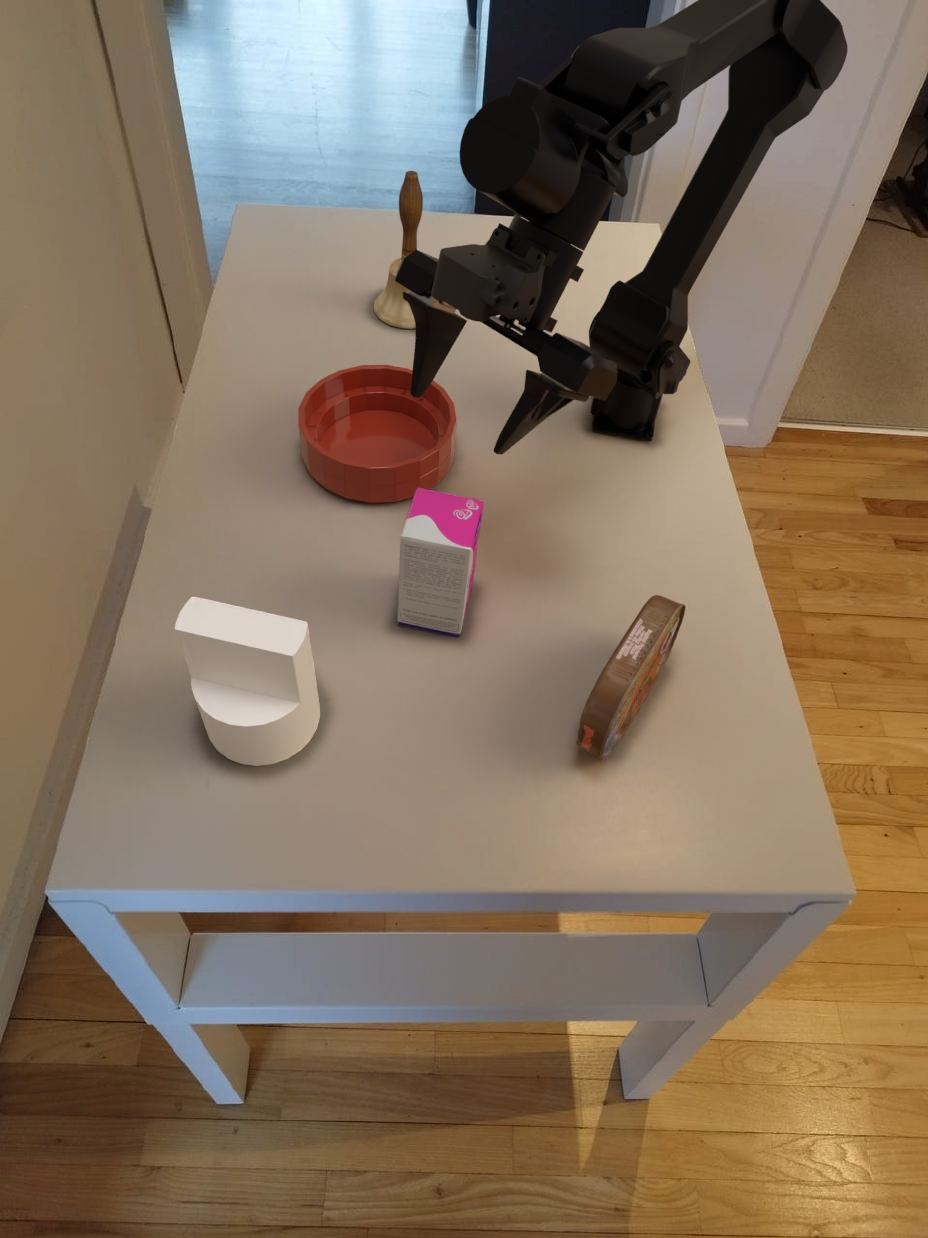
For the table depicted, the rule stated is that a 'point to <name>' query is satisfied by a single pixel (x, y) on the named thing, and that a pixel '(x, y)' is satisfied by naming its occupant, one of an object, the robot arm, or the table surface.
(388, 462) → the bowl
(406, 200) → the hand bell
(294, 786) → the table surface
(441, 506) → the supplement box
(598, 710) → the tin
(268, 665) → the base with upright slab
